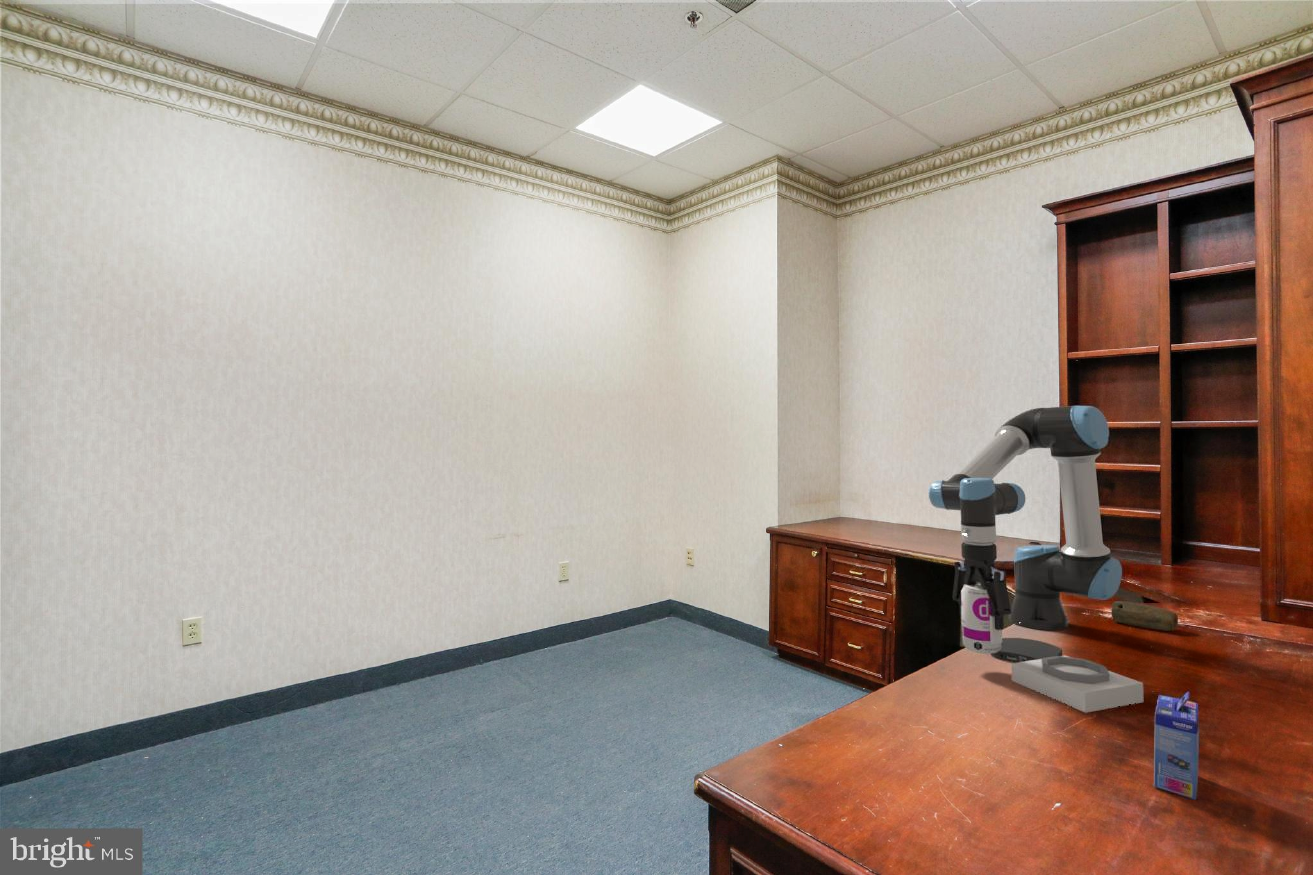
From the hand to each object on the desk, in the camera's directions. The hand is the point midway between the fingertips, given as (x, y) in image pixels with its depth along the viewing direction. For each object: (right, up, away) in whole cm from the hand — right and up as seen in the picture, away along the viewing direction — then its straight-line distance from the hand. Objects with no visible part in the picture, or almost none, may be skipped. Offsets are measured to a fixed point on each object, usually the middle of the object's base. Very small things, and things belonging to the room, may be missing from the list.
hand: (981, 636), depth 151 cm
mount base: (+14, -8, -13) cm, 20 cm away
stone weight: (+64, -8, +32) cm, 72 cm away
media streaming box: (+17, -9, +10) cm, 21 cm away
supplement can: (0, -3, 0) cm, 3 cm away
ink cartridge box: (+6, -8, -50) cm, 50 cm away
